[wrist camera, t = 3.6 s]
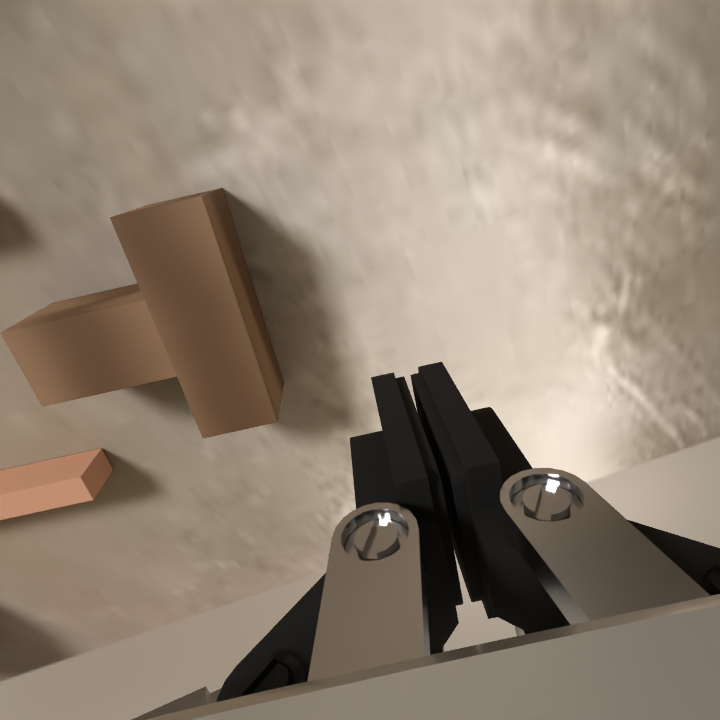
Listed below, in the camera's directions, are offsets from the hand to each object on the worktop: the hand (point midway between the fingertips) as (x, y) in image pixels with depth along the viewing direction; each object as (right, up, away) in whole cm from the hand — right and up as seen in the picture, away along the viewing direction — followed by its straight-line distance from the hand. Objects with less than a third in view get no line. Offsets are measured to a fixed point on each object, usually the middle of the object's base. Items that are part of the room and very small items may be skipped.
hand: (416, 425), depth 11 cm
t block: (-11, +4, +12) cm, 17 cm away
